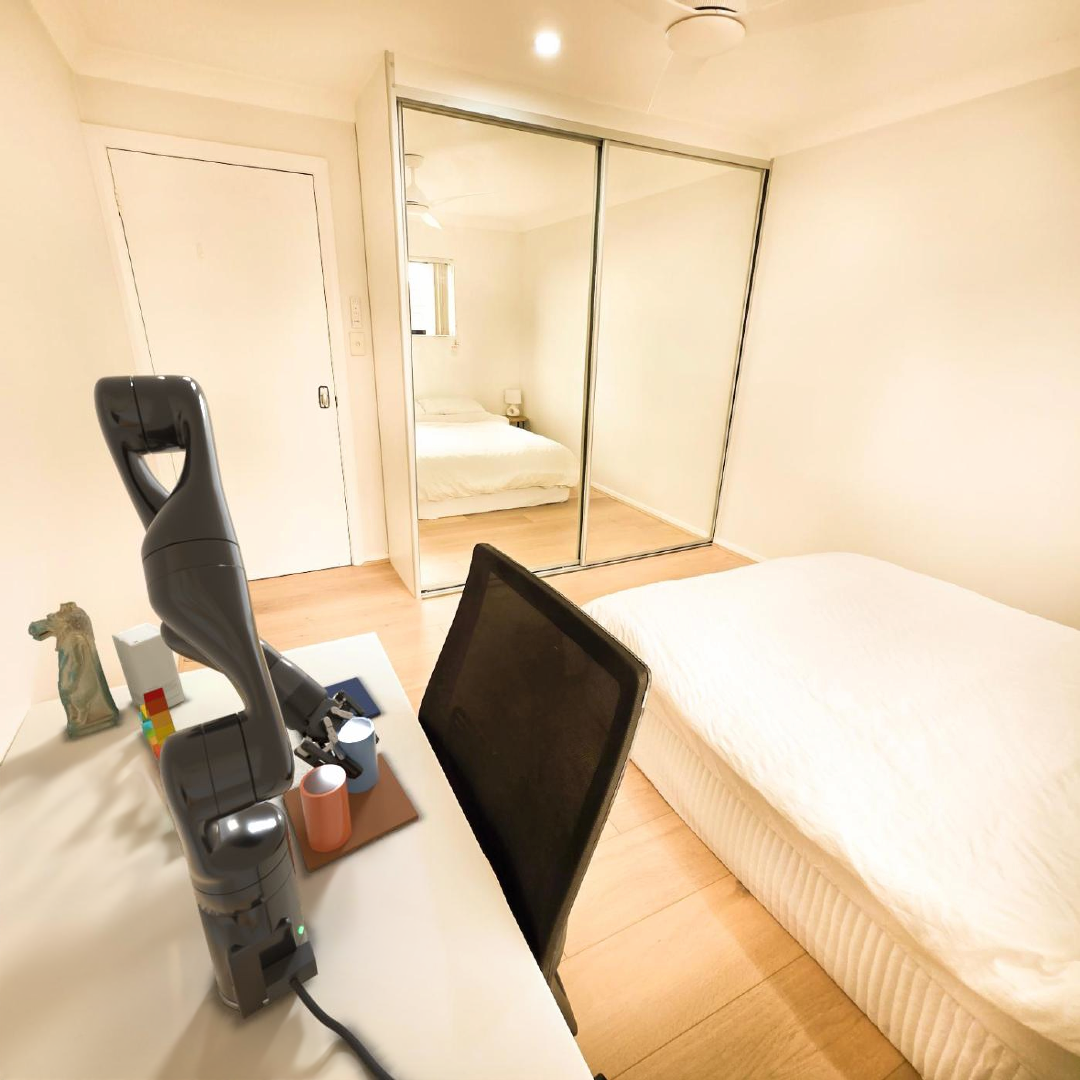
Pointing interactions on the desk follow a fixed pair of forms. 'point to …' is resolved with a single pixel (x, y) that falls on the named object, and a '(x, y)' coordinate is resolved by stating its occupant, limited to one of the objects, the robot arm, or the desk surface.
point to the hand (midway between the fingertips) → (367, 758)
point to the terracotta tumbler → (326, 808)
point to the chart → (156, 719)
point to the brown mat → (358, 816)
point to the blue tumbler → (360, 751)
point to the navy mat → (355, 695)
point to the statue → (78, 670)
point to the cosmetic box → (148, 663)
